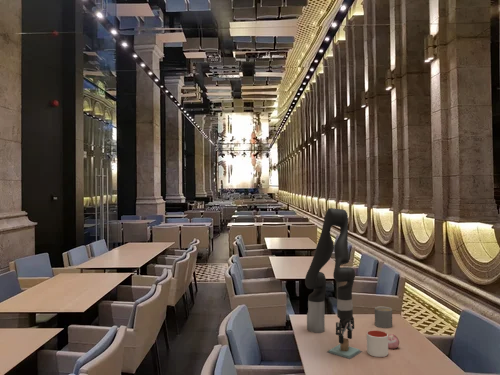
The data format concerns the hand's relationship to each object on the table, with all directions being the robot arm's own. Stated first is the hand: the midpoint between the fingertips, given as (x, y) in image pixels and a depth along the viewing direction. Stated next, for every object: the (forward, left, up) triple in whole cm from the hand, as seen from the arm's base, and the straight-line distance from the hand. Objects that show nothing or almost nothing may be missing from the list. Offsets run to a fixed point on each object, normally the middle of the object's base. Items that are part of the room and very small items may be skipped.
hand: (345, 340), depth 202 cm
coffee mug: (-5, +53, -6) cm, 54 cm away
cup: (+12, +9, -6) cm, 16 cm away
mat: (-1, 0, -6) cm, 6 cm away
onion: (+14, +21, -6) cm, 26 cm away
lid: (-1, 0, -6) cm, 6 cm away
